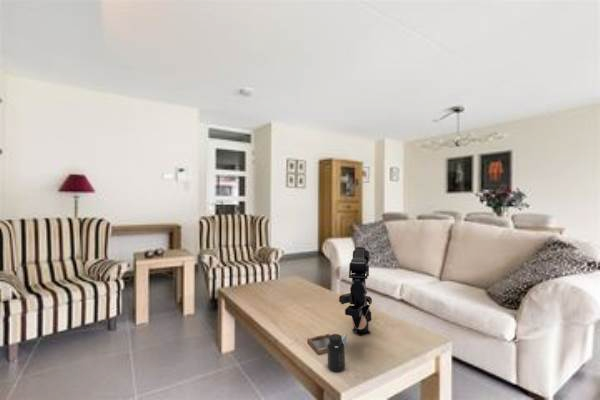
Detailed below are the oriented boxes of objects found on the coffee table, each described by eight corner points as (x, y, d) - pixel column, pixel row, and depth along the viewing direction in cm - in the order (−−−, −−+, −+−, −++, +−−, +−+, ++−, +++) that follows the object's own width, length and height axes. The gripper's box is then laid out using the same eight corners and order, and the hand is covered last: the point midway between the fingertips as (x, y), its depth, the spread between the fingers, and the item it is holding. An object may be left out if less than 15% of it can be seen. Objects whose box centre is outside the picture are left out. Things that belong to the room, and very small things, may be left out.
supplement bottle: (343, 361, 113) (342, 332, 113) (346, 372, 106) (346, 340, 106) (326, 362, 113) (326, 332, 113) (328, 372, 106) (328, 341, 106)
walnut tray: (328, 337, 133) (328, 333, 133) (341, 349, 123) (341, 344, 123) (307, 342, 128) (307, 338, 128) (318, 355, 118) (318, 350, 118)
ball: (361, 324, 125) (360, 311, 125) (369, 330, 120) (369, 316, 120) (349, 327, 123) (349, 313, 123) (357, 333, 118) (357, 318, 118)
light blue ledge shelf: (343, 341, 129) (343, 334, 129) (348, 342, 128) (347, 335, 128) (328, 358, 115) (328, 350, 115) (333, 360, 114) (333, 352, 114)
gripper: (348, 281, 134) (349, 313, 134) (333, 292, 118) (333, 329, 118) (372, 284, 128) (372, 318, 128) (358, 297, 112) (359, 335, 112)
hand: (359, 325), depth 122 cm, fingers closed on ball, 6 cm apart
